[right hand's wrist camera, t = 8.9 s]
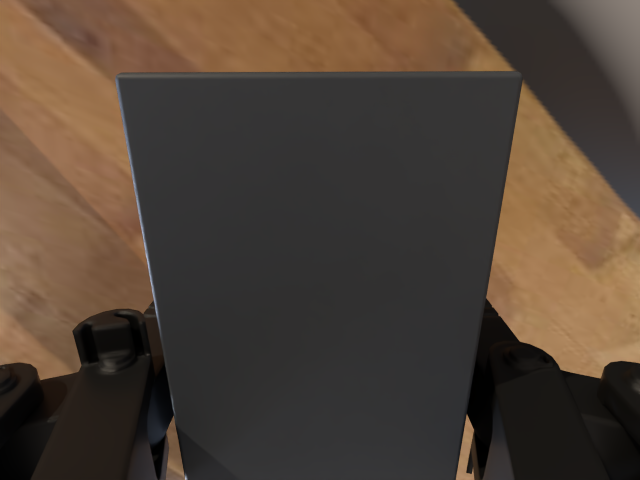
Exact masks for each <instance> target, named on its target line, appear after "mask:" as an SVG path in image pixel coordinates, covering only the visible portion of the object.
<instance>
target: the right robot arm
mask: <svg viewBox="0 0 640 480" xmlns="http://www.w3.org/2000/svg"><path fill="white" fill-rule="evenodd" d="M73 335H74V339H75V342H76V346H77V350H78V354H79V357H80V361H81V365H82V366H81V368H80V371H79V372H77V373H73V374H69V375H64V376H59V377H54V378H49V379H44V380H40V378H39V375H38V372H37V369H36V368H35V367H33V366H32V365H31V364H25V363H13V364H5V365H0V480H166V471H167V462H168V452H169V445H168V439H167V433H166V431H167V429H168V427H169V424H170V422H171V420H172V417H173V415H174V412H173V406H172V400H171V395H170V389H169V383H168V378H167V372H166V366H165V360H164V355H163V349H162V343H161V338H160V332H159V326H158V321H157V315H156V309H155V303H154V301H153V302H152V303H151V305H150V306H149V309H147V310H146V311H145V312H144V314H142V313H141V312H139V311H137V310H132V309H115V310H110V311H105V312H102V313H99V314H96V315H94V316H91V317H89V318H87V319H86V320H84V321H83V322H81V323H79V324H78V325H77V327H76V328H75V329H74V330H73ZM466 415H468V417H469V419H470V422H471V424H472V426H473V428H474V433H473V439H472V444H471V449H470V454H469V460H468V465H467V472H466V473H470V474H472V469H473V470H474V479H475V480H640V363H634V362H626V361H618V362H611V363H609V364H608V365H607V366H605V367H604V370H603V373H602V376H601V379H600V378H595V377H590V376H585V375H580V374H575V373H570V372H567V371H563V370H560V368H559V365H558V364H557V363H556V361H555V360H554V359H553V357H552V356H550V355H549V354H547V353H546V352H545V351H543V350H542V349H539V348H537V347H535V346H533V345H530V344H527V343H523V342H520V341H519V340H518V339H517V337H516V336H515V335H514V334H513V332H512V331H511V330H510V328H509V327H508V326H507V325H506V323H505V322H504V321H503V319H502V318H501V317H500V316H498V313H497V312H496V310H495V309H494V308H492V305H491V304H490V303H489V301H488V300H487V299H486V301H485V307H484V313H483V319H482V325H481V331H480V337H479V343H478V349H477V355H476V361H475V367H474V373H473V379H472V385H471V391H470V397H469V402H468V408H467V414H466ZM174 419H175V418H174ZM465 421H466V420H465ZM175 425H176V423H175ZM176 430H177V429H176Z"/></svg>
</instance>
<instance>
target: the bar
mask: <svg viewBox="0 0 640 480" xmlns="http://www.w3.org/2000/svg"><path fill="white" fill-rule="evenodd" d="M522 80H523V77H522V74H521V73H519V72H517V71H453V72H165V73H120V74H118V75H116V79H115V81H116V87H117V92H118V98H119V104H120V109H121V115H122V121H123V127H124V132H125V138H126V144H127V149H128V155H129V161H130V166H131V172H132V178H133V184H134V189H135V195H136V201H137V206H138V212H139V218H140V224H141V229H142V235H143V241H144V246H145V252H146V258H147V263H148V269H149V275H150V281H151V286H152V292H153V298H154V303H155V309H156V315H157V321H158V326H159V332H160V338H161V343H162V349H163V355H164V360H165V366H166V372H167V378H168V383H169V389H170V395H171V400H172V406H173V412H174V418H175V423H176V429H177V435H178V440H179V446H180V452H181V457H182V463H183V469H184V475H185V480H456V474H457V468H458V462H459V456H460V450H461V444H462V438H463V432H464V426H465V420H466V414H467V408H468V402H469V397H470V391H471V385H472V379H473V373H474V367H475V361H476V355H477V349H478V343H479V337H480V331H481V325H482V319H483V313H484V307H485V301H486V295H487V289H488V283H489V277H490V271H491V265H492V259H493V253H494V247H495V241H496V235H497V229H498V223H499V217H500V211H501V205H502V200H503V194H504V188H505V182H506V176H507V170H508V164H509V158H510V152H511V146H512V140H513V134H514V128H515V122H516V116H517V110H518V104H519V98H520V92H521V86H522Z"/></svg>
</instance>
